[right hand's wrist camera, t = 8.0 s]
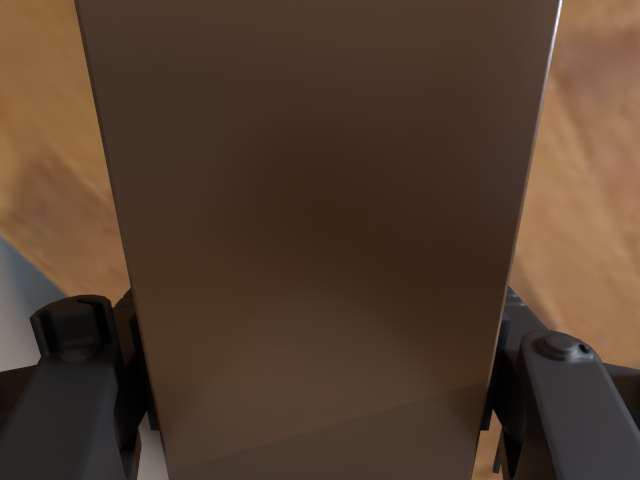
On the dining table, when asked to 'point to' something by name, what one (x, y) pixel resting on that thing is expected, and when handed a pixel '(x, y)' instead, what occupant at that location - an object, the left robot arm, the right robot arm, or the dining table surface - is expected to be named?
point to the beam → (319, 221)
